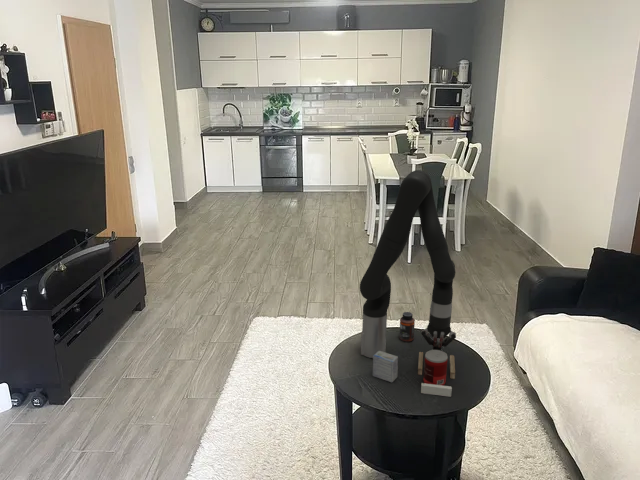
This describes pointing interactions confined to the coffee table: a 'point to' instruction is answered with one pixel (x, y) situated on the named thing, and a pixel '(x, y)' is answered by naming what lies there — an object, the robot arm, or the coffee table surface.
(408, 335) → the supplement bottle
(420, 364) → the wooden bars
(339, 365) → the coffee table surface
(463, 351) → the coffee table surface
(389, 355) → the medicine box
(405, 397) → the coffee table surface
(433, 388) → the bar
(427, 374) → the canned food
